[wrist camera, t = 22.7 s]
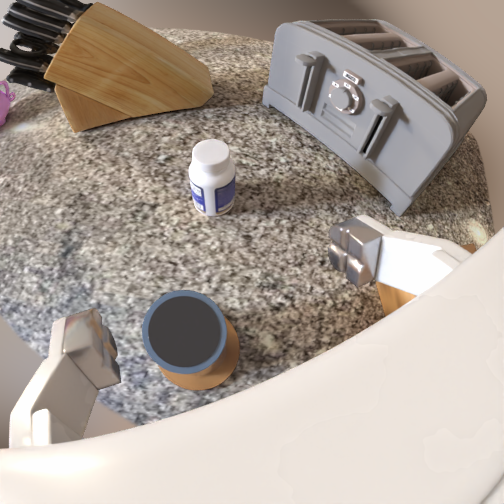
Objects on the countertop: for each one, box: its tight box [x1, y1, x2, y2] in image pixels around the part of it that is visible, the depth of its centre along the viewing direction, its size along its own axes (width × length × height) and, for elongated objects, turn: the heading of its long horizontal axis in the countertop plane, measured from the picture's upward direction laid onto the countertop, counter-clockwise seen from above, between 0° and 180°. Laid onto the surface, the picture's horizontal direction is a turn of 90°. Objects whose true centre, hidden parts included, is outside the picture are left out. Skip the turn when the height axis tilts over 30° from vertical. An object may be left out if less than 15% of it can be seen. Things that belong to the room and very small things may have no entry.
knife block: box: [0, 0, 214, 133], centre depth 31 cm, size 11×35×31 cm, turn 102°
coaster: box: [158, 317, 240, 390], centre depth 28 cm, size 9×9×1 cm
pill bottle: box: [189, 139, 236, 216], centre depth 33 cm, size 5×5×9 cm
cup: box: [142, 290, 227, 376], centre depth 24 cm, size 6×6×9 cm
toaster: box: [262, 19, 487, 217], centre depth 39 cm, size 31×36×17 cm
